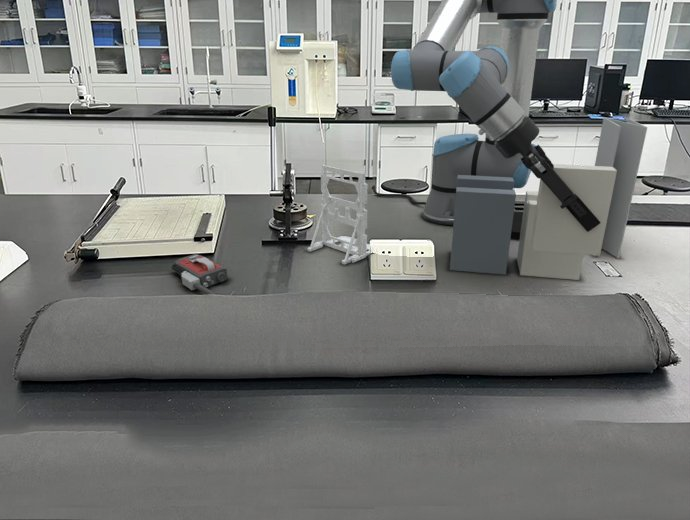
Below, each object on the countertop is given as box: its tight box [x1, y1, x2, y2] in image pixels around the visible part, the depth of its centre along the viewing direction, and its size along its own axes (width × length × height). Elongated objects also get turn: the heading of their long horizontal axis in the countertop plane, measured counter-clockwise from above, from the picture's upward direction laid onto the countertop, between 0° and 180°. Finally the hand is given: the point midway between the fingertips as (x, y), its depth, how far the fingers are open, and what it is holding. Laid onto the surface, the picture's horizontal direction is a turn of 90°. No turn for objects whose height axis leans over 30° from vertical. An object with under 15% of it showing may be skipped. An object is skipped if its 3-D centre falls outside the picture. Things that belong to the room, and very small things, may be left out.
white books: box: [516, 190, 585, 281], centre depth 115 cm, size 9×12×16 cm
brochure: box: [592, 117, 648, 259], centre depth 125 cm, size 14×6×30 cm, turn 168°
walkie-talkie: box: [170, 253, 228, 295], centre depth 111 cm, size 9×4×20 cm
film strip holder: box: [306, 164, 371, 266], centre depth 125 cm, size 14×14×20 cm
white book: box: [531, 163, 617, 256], centre depth 98 cm, size 3×12×16 cm, turn 78°
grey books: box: [449, 175, 517, 276], centre depth 118 cm, size 10×12×19 cm
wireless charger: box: [510, 211, 523, 241], centre depth 143 cm, size 18×18×2 cm
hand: (591, 223), depth 98 cm, fingers closed on white book, 3 cm apart
